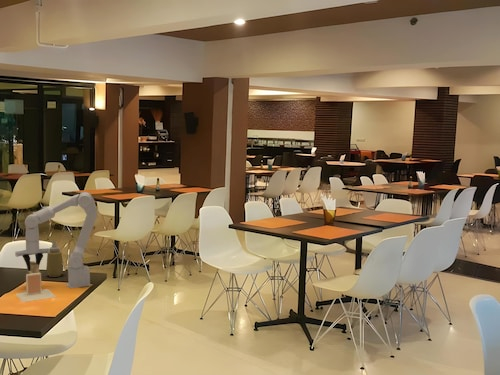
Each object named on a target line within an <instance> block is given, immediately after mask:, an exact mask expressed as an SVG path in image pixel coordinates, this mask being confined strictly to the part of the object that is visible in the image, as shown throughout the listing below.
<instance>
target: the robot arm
mask: <svg viewBox="0 0 500 375" xmlns="http://www.w3.org/2000/svg"><path fill="white" fill-rule="evenodd" d="M78 205H79V206H78ZM70 207H81V208H82V209H83V212H85V214H86V216H85V219H84V222H83V225H82V227H81V230H80V234H79V236H78V238H77V240H76V243H75V246H74V248H73V251H71V253H70V254H69V255H68V258H69V259H68V266H67V278H68V282H67V283H65V285H66V286H67V287H68V288H70V289H75V288H82V287H90V286H91V273H90V272H91V271H90V267H89V266H88V265H85V264H84V263H83V261H84V260H83V259H84V253H85V251H86V248H87V244H88V243H89V242H88V241H89V239H90V236H91V233H92V231H93V228H94V225H95V223H96V220H97V217H98V214H99V213H98V209H97V206H96V203H95V199H94V197H93V195H92V194H91V193H90V192H88V191H82V192H81V193H80V194H79V193H78V194H75V195H73V196H70V197H69V198H67V199H65V200H63V201H61V202H59V203H57V204H56V205H53V206H48V205H47V206H43V207H42V208H40V209H39V210H38V211H36V212H35V211H33V212H32V214H29V215H27V216H26V218H25V220H24V225H25V250H18V251H15V257H22V258H23V260H24V263H25V265H26V270H27V269H28V271H30V261H31V257H30V256H31V255H35V263H37V264H38V265H39V266H40V264H41V261H42V260H43V257H44V254H48V253H50V250H49V248H50V247H49V248H40V231H39V224H43V223H45V222H47V221H49V220H51V219H53V218H54V217H55V215H56V214H57V213H58V212H61V211H63V210H65V209H68V208H70ZM28 271H27V272H28Z"/></svg>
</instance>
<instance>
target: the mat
mask: <svg viewBox="0 0 500 375" xmlns="http://www.w3.org/2000/svg"><path fill="white" fill-rule="evenodd" d="M41 292H42V293H38V294H31V295H27V293H26V291H24V292H18V293H15V295H16V297H18V299H19V300H20V301H21V303H28V302H32V301H33V302H34V301H39V300H40V301H41V300H45V299H53V298H57V296H56V295H55V294H54V293H53V292H52V291H51V290H50V289H48V288H45V289H41Z"/></svg>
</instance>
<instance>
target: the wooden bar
mask: <svg viewBox="0 0 500 375" xmlns="http://www.w3.org/2000/svg"><path fill="white" fill-rule="evenodd" d="M26 270H27V271H26V272H27V273H28V274H32V273H40V265H38V264H37V263H36V261H35V260H30V271H28V269H27V268H26Z"/></svg>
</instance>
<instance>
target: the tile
mask: <svg viewBox="0 0 500 375" xmlns="http://www.w3.org/2000/svg"><path fill="white" fill-rule="evenodd" d="M25 285H26V287H25V288H26V291H25V292H26V293H27V295H31V294H38V293H42V292H41V290H42V272H39V273H32V274H30V273H26V275H25Z"/></svg>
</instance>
